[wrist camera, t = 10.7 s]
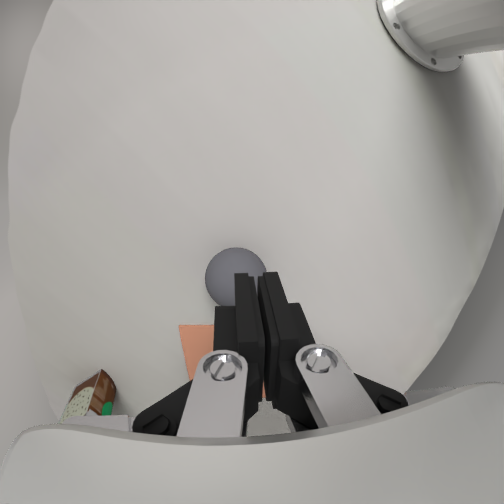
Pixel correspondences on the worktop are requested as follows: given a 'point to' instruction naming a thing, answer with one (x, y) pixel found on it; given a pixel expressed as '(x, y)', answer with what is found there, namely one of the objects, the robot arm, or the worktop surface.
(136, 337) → the worktop surface
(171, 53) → the worktop surface
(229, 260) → the grey ball
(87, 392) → the food container
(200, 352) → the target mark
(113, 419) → the robot arm
